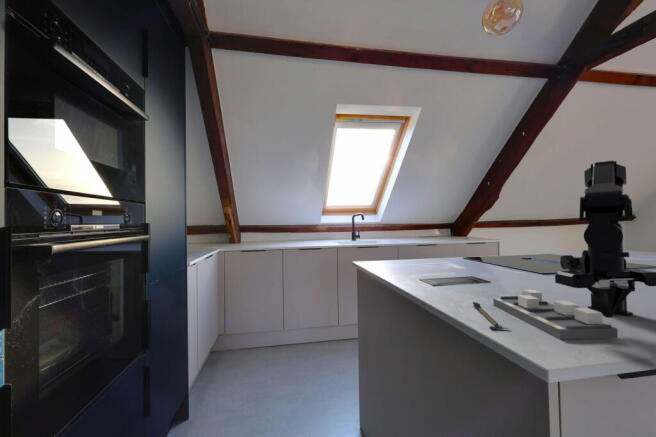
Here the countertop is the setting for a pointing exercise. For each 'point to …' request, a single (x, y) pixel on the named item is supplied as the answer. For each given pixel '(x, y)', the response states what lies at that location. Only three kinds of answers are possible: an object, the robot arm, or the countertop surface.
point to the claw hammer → (489, 318)
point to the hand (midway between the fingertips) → (607, 317)
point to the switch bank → (555, 320)
